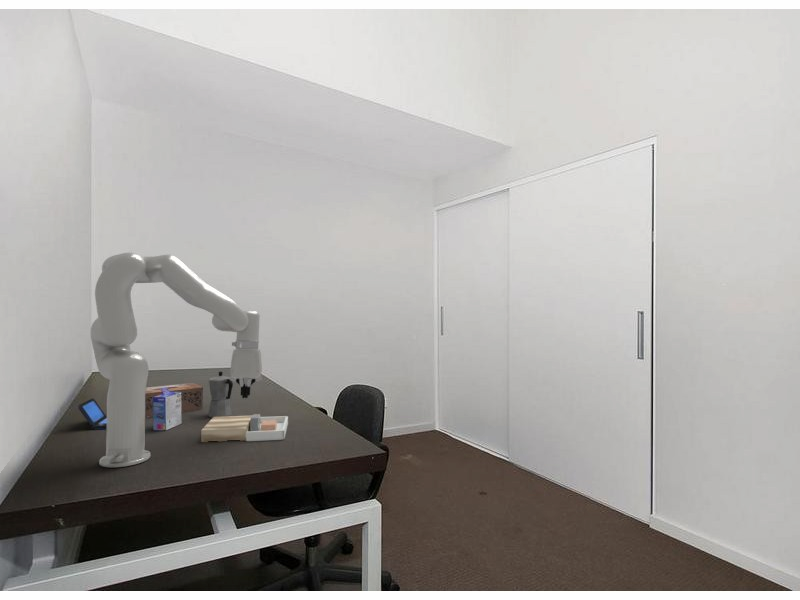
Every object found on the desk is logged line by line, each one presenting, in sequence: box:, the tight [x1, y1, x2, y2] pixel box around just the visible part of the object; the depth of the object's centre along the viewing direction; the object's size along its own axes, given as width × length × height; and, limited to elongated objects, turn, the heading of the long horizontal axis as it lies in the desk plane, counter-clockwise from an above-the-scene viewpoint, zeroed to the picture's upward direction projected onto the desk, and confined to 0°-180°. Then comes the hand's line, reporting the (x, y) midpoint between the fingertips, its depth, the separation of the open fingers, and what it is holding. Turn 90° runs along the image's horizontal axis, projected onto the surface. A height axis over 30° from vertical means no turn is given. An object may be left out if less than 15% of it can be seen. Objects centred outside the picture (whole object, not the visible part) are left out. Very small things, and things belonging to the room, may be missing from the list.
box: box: [245, 415, 289, 442], centre depth 160 cm, size 21×12×3 cm, turn 11°
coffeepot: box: [208, 371, 234, 419], centre depth 184 cm, size 15×9×18 cm, turn 51°
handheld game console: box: [77, 398, 107, 431], centre depth 169 cm, size 16×13×9 cm
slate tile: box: [251, 413, 261, 431], centre depth 159 cm, size 6×5×2 cm
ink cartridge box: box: [152, 387, 182, 431], centre depth 166 cm, size 10×6×14 cm, turn 174°
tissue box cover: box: [145, 382, 204, 418], centre depth 191 cm, size 26×14×10 cm, turn 131°
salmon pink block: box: [261, 420, 277, 431], centre depth 160 cm, size 6×5×2 cm
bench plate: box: [200, 415, 252, 443], centre depth 157 cm, size 18×14×4 cm
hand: (245, 397), depth 158 cm, fingers closed
